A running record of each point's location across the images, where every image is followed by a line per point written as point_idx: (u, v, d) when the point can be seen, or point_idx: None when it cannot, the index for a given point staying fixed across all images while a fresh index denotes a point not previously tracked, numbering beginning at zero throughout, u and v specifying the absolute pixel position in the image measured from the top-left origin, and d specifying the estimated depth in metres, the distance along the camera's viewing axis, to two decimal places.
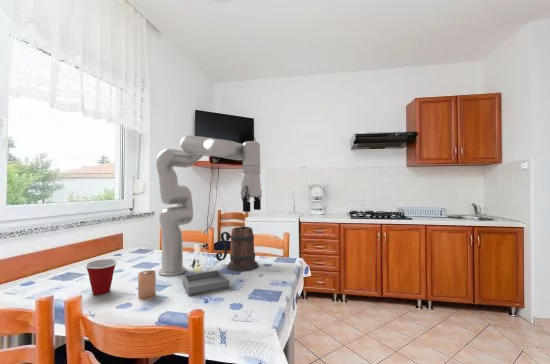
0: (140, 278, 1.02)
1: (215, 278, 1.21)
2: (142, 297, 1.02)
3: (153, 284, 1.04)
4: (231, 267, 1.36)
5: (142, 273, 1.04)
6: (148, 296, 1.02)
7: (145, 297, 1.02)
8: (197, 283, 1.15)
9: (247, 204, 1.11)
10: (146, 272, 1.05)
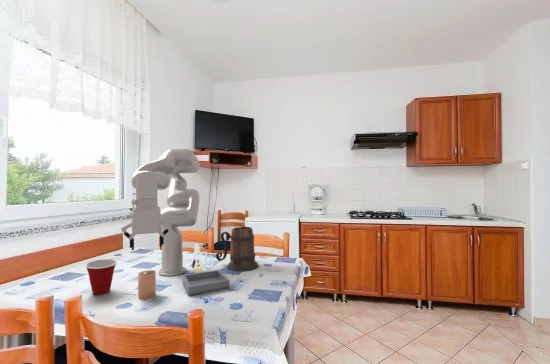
0: (140, 278, 1.02)
1: (215, 278, 1.21)
2: (142, 297, 1.02)
3: (153, 284, 1.04)
4: (231, 267, 1.36)
5: (142, 273, 1.04)
6: (148, 296, 1.02)
7: (145, 297, 1.02)
8: (197, 283, 1.15)
9: None
10: (146, 272, 1.05)
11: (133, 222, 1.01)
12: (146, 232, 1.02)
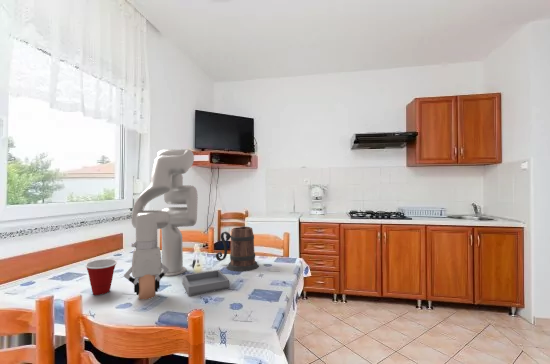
0: (140, 278, 1.02)
1: (215, 278, 1.21)
2: (142, 297, 1.02)
3: (153, 284, 1.04)
4: (231, 267, 1.36)
5: None
6: (148, 296, 1.02)
7: (145, 297, 1.02)
8: (197, 283, 1.15)
9: None
10: None
11: (133, 266, 1.01)
12: None
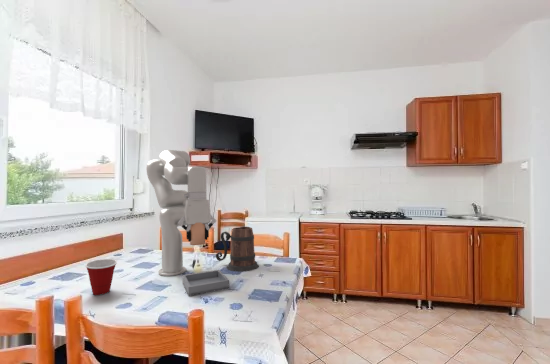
0: (192, 226, 1.11)
1: (215, 278, 1.21)
2: (194, 243, 1.10)
3: (203, 232, 1.12)
4: (231, 267, 1.36)
5: None
6: (199, 242, 1.11)
7: (196, 243, 1.10)
8: (197, 283, 1.15)
9: None
10: None
11: (186, 213, 1.09)
12: None
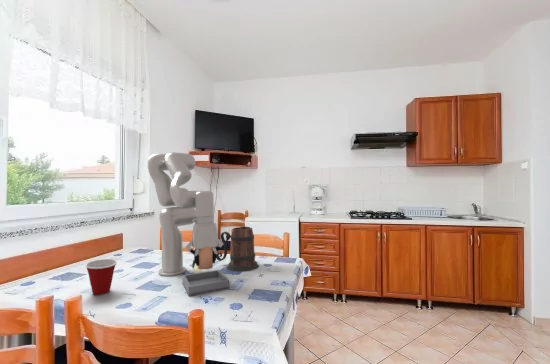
0: (200, 250, 1.12)
1: (215, 278, 1.21)
2: (202, 267, 1.11)
3: (211, 256, 1.14)
4: (231, 267, 1.36)
5: None
6: (208, 266, 1.12)
7: (205, 268, 1.11)
8: (197, 283, 1.15)
9: None
10: None
11: (194, 238, 1.10)
12: None
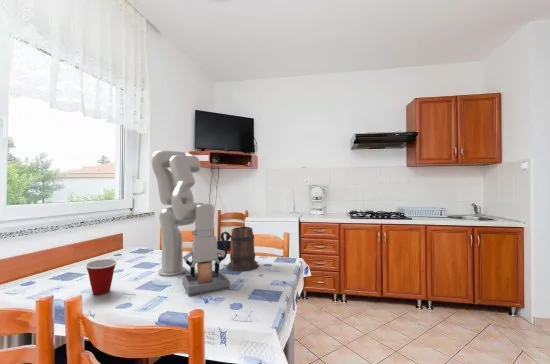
0: (200, 267, 1.12)
1: (215, 278, 1.21)
2: None
3: (211, 272, 1.14)
4: (231, 267, 1.36)
5: (201, 262, 1.13)
6: None
7: None
8: (197, 283, 1.15)
9: None
10: None
11: (194, 252, 1.11)
12: (205, 260, 1.12)
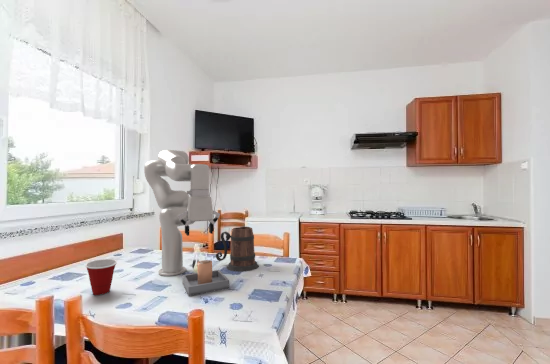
0: (200, 267, 1.12)
1: (215, 278, 1.21)
2: None
3: (211, 272, 1.14)
4: (231, 267, 1.36)
5: (201, 262, 1.13)
6: None
7: None
8: (197, 283, 1.15)
9: None
10: (204, 261, 1.14)
11: (189, 210, 1.11)
12: (200, 220, 1.13)
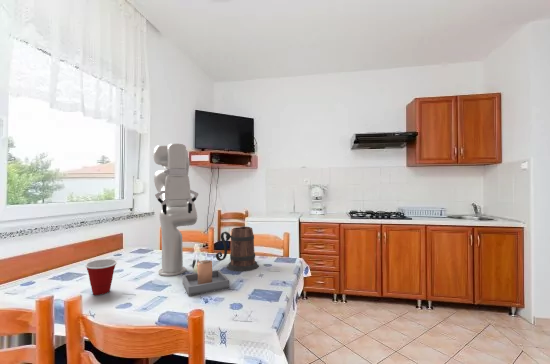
0: (200, 267, 1.12)
1: (215, 278, 1.21)
2: None
3: (211, 272, 1.14)
4: (231, 267, 1.36)
5: (201, 262, 1.13)
6: None
7: None
8: (197, 283, 1.15)
9: None
10: (204, 261, 1.14)
11: (166, 189, 1.12)
12: (177, 198, 1.13)
